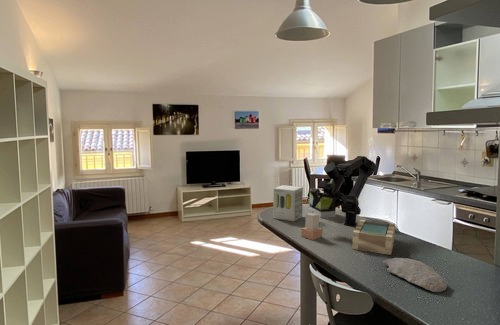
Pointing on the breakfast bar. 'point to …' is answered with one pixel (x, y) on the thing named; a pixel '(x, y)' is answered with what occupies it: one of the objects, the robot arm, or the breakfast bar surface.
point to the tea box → (322, 206)
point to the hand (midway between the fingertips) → (320, 209)
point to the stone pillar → (312, 221)
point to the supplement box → (287, 202)
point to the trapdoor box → (373, 240)
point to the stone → (417, 273)
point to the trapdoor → (375, 227)
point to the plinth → (311, 233)
